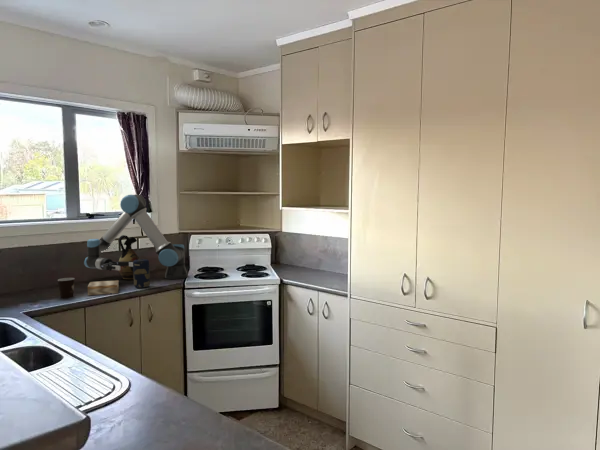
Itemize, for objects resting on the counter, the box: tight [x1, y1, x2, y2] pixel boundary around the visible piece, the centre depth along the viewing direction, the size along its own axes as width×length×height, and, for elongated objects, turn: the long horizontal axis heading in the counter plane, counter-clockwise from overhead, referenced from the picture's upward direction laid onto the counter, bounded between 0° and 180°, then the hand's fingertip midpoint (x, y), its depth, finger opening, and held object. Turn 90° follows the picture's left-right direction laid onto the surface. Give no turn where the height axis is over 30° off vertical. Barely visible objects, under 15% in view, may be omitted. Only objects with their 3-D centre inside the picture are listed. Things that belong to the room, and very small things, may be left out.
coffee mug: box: [57, 277, 75, 299], centre depth 257 cm, size 12×9×10 cm
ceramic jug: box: [117, 234, 140, 280], centre depth 306 cm, size 17×15×30 cm
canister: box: [133, 257, 151, 288], centre depth 279 cm, size 10×10×18 cm
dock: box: [87, 279, 120, 296], centre depth 267 cm, size 16×14×5 cm
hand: (128, 266), depth 282 cm, fingers open, 13 cm apart
